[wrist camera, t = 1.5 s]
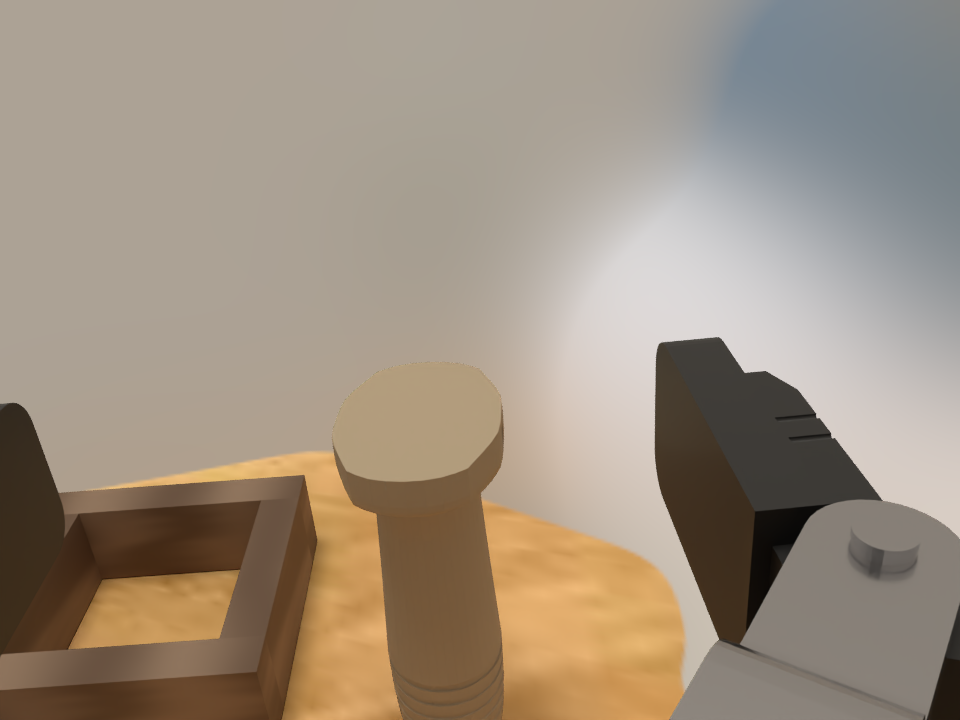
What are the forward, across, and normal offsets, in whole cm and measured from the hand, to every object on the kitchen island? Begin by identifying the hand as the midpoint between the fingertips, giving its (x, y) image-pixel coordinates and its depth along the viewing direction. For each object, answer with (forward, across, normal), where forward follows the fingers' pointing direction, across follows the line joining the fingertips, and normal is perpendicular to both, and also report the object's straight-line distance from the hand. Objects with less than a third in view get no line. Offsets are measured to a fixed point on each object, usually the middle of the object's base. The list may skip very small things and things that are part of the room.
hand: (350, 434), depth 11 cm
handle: (+13, 0, +22) cm, 26 cm away
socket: (+20, +13, +22) cm, 32 cm away
